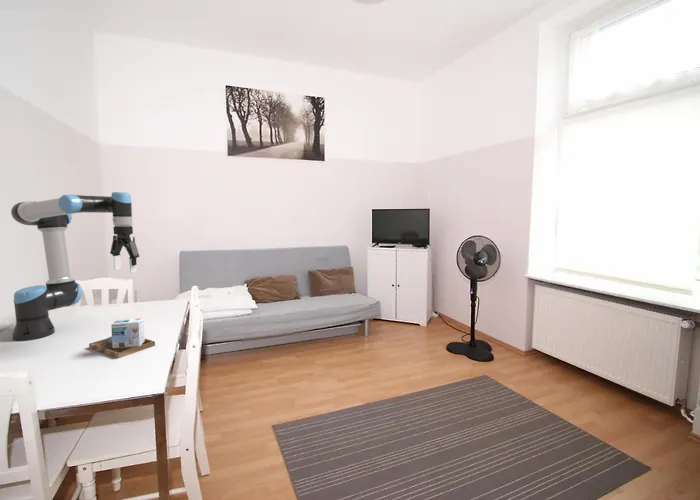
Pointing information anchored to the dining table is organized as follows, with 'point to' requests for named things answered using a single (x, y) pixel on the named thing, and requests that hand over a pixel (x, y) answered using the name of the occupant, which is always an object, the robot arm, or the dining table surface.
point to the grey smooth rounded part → (109, 341)
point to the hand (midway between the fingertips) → (125, 270)
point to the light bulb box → (127, 333)
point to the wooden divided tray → (119, 352)
